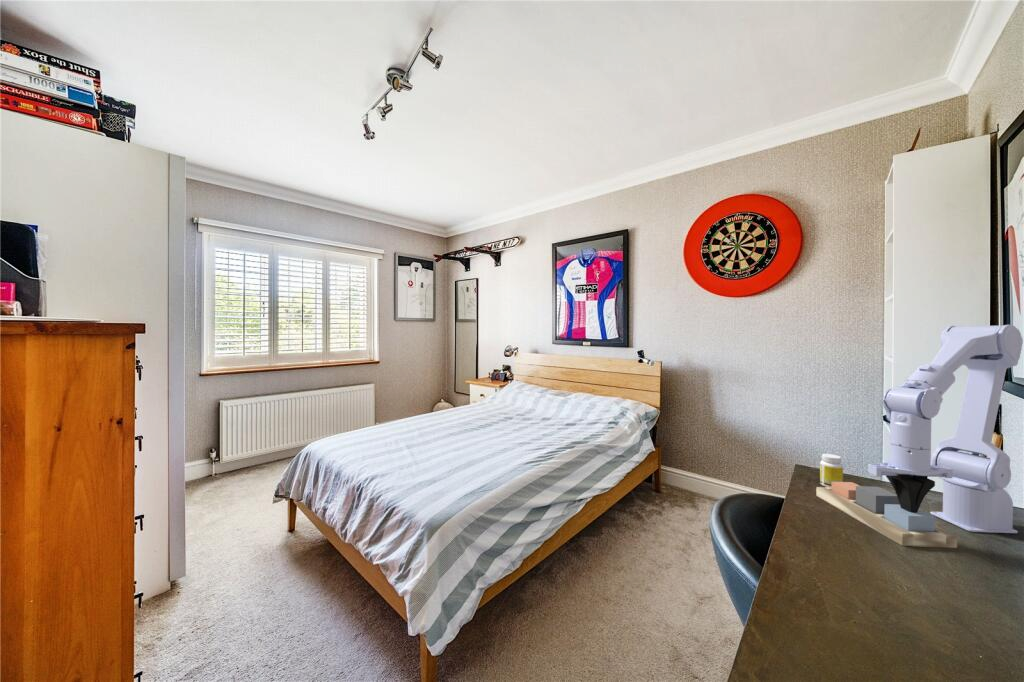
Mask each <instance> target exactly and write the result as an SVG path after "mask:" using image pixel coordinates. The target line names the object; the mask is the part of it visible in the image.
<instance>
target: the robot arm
mask: <svg viewBox="0 0 1024 682" xmlns="http://www.w3.org/2000/svg"><path fill="white" fill-rule="evenodd" d="M1023 343H1024V340H1023V337H1022V334H1021V331H1020V329H1019V328H1017V327H1016V326H1015V325H1013V324H1004V325H963V326H961V325H960V326H956V325H949V326H947V327H946V328H945V329H943V330H942V332H941V334H940V346H941V348H940V349H939V351H938V352H937V354H936V355H935V356H934V358H932V360H931V362H930V363H925V364H920V365H919V366H918V367H917V368H916V369H915V370H914V371H913V372H912V373H911V374H910V376H908V377H907V379H906V380H905V381H904V382H902V384H901V385H900V386H895V387H892V388H889V389H887V391H886V392H885V394H884V396H883V399H882V405H883V408H884V410H885V412H886V419H887V421H888V422H890V423H889V427H890V428H889V459H887V460H886V462H880V463H879V462H878V463H868V465H867V472H868V474H869V475H873V476H874V477H883V476H885V477H886V478H887V480H888V481H889V483H890V485H891V486H892V488H893V490H894V492H895V494H896V495H897V497H898V500H899V503H900V507H901V508H902V509H904V510H906V511H908V512H913V513H917V512H918V509H920V507H921V505H922V502H923V500H924V498H925V497H926V495H928V493H929V492H930V491H931V490H932V489H933V488H934V487H936V481H935V480H933V479H930V478H928V477H932V478H934V477H935V478H936V477H937V478H939V479H941V480H943V481H942V483H943V484H942V486H943V487H942V511H930V513H929V514H931V515H933V516H935V517H936V518H939V519H941V520H944V521H945V522H948V523H950V524H951V525H955V526H957V527H959V528H961V529H963V530H965V531H968V532H972V533H995V534H996V533H1000V534H1002V533H1003V534H1018V532H1019V531H1018V530H1016V529H1014V528H1013V527H1014V523H1013V520H1014V519H1013V518H1014V517H1013V516H1014V514H1013V513H1014V504H1013V503H1014V502H1013V499H1012V497H1011V496H1010V494H1009V492H1008V491H1006V490H1005V489H1004V488H1007V487H1008V486H1009V484H1010V482H1011V479H1012V470H1011V457H1010V456H1009V455H1008V454H1007V453H1006V452H1005V451H1003V450H1002V449H1001V448H999V447H998V446H996V445H995V444H993V442H992V441H993V437H994V430H995V425H996V421H997V415H998V411H999V405H1000V400H1001V397H1002V392H1003V386H1004V381H1005V377H1006V372H1007V369H1010V368H1012V367H1016V366H1018V364H1019V361H1020V358H1021V353H1022V348H1023ZM962 366H965V367H966V368H967V369H968V372H967V378H966V383H965V388H964V392H963V397H962V401H961V407H960V411H959V417H958V422H957V426H956V432H955V435H954V436H952V437H948V438H944V439H942V440H939V441H938V443H937V445H936V448H935V450H934V452H933V453H932V419H933V418H935V417H936V416H937V415H938V414H939V412H940V410H941V409H940V408H941V404H942V403H943V400H944V398H943V395H944V394H945V393H946V392H947V391H948V390H949V389H950V387H952V386H953V384H954V383H955V382H956V376H955V374H954V373H955V372H956V371H957V370H958V369H959V368H961V367H962ZM967 452H968V453H967ZM971 453H972V454H971ZM976 454H977V455H976ZM981 455H982V456H981ZM986 456H987V457H986Z"/></svg>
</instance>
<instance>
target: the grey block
mask: <svg viewBox="0 0 1024 682" xmlns="http://www.w3.org/2000/svg"><path fill="white" fill-rule="evenodd" d="M856 503H857V504H859V505H860V506H862V507H864V508H866V509H868V510H870V511H872V512H874V513H876V514H884V508H885V504H898V505H900V503H899V500H898V497H897V494H896V493H894V492H892V491H890V490H887V489H885V488H882V487H880V486H870V485H869V486H868V485H867V486H866V485H859V486H856Z"/></svg>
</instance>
